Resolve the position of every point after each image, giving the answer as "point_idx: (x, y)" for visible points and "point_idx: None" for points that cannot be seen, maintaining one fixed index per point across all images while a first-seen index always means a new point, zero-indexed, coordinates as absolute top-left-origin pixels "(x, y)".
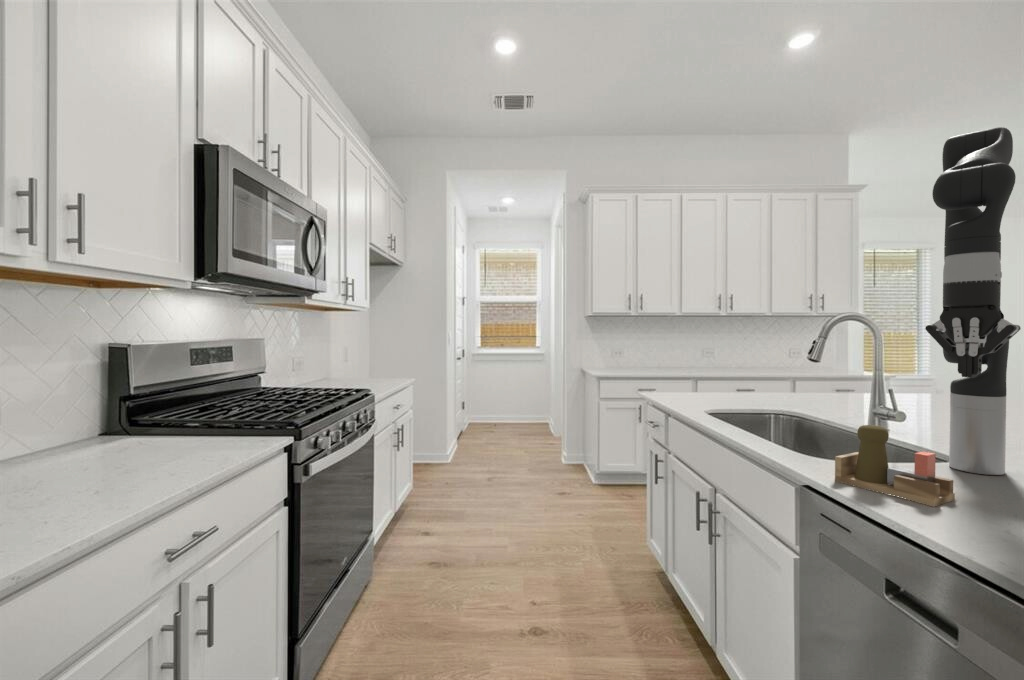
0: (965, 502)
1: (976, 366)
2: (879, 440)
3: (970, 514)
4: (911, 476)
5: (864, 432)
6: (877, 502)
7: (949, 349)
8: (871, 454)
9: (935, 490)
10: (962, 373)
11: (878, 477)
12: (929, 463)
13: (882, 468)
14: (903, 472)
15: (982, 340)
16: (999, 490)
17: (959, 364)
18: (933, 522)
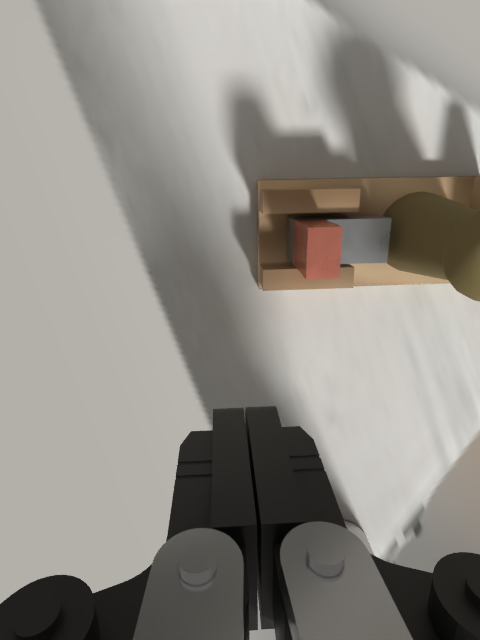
0: (238, 286)
1: (186, 473)
2: (456, 226)
3: (194, 199)
4: (329, 218)
5: None
6: (341, 82)
7: (465, 574)
8: (448, 209)
9: (261, 190)
10: (272, 415)
11: (398, 208)
12: (301, 236)
13: (403, 222)
14: (350, 219)
15: None
16: None
17: (313, 474)
18: (204, 43)
